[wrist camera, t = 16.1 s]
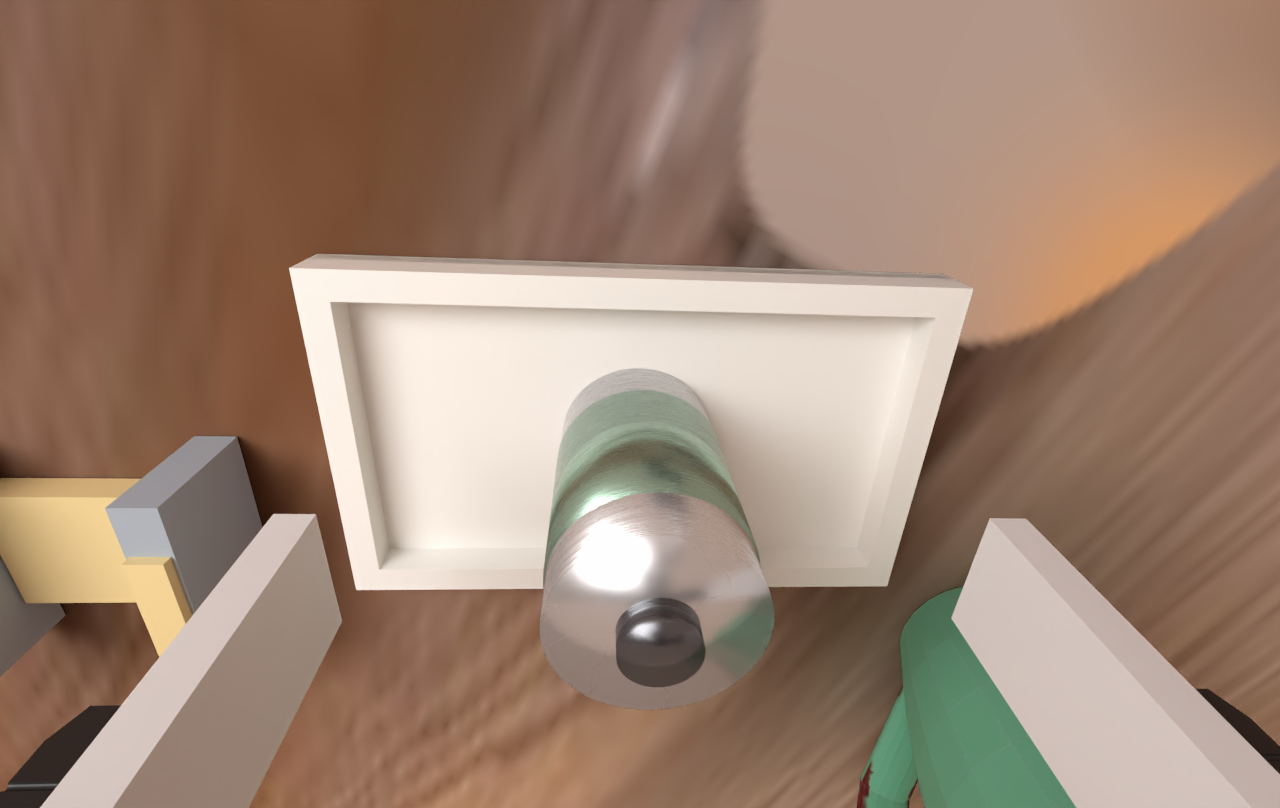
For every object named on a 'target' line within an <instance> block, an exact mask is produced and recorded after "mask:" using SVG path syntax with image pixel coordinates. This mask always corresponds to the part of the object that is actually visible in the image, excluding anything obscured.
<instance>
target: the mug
mask: <svg viewBox="0 0 1280 808" xmlns="http://www.w3.org/2000/svg"><path fill="white" fill-rule="evenodd" d="M962 589H963V586H962V587H958V588H955V589H951V590H948V591H944V592H943V593H941V594H939V595H937V596H935V597H933V598H931V599H929V600H928V601H927V602H925V603H924V604H923V605H922V606H921V607H919V608H918V609H917V610H916V611H914V613H913V614H912V615H911V617H910V618H909V620H908V621H907V622H906V624H905V625H904V627H903V631H902V634H901V637H900V651H901V664H902V676H903V686H902V689H901V691H900V693H899V695H898V697H897V699H896V702H895V704H894V706H893V708H892V710H891V713H890V715H889V717H888V719H887V721H886V724H885V726H884V728H883V730H882V732H881V735H880V737H879V739H878V741H877V743H876V746H875V748H874V750H873V752H872V754H871V756H870V759H869V761H868V763H867V765H866V767H865V770H864V772H863V774H862V776H861V778H860V786H859V794H858V802H857V808H909V799H910V797H911V795H912V793H913V790H914V788H915V786H916V784H917V781H918V785H919V789H920V793H921V797H922V800H923V804H924V808H1076V806H1075V805H1074V803H1073V802H1072V800H1071V799H1070V797H1069V796H1068V794H1067V793H1066V791H1065V790H1064V788H1063V787H1062V785H1061V784H1060V782H1059V781H1058V779H1057V778H1056V776H1055V775H1054V773H1053V772H1052V770H1051V769H1050V767H1049V766H1048V764H1047V763H1046V761H1045V760H1044V758H1043V756H1042V755H1041V753H1040V752H1039V750H1038V749H1037V747H1036V746H1035V744H1034V743H1033V741H1032V740H1031V738H1030V737H1029V735H1028V734H1027V732H1026V731H1025V729H1024V728H1023V726H1022V725H1021V723H1020V722H1019V720H1018V719H1017V717H1016V716H1015V714H1014V713H1013V711H1012V710H1011V708H1010V706H1009V705H1008V703H1007V702H1006V700H1005V699H1004V697H1003V696H1002V694H1001V693H1000V691H999V690H998V688H997V687H996V685H995V684H994V682H993V681H992V679H991V678H990V676H989V675H988V673H987V672H986V670H985V669H984V667H983V666H982V664H981V663H980V661H979V660H978V658H977V657H976V655H975V653H974V652H973V650H972V649H971V647H970V646H969V644H968V643H967V641H966V640H965V638H964V637H963V635H962V634H961V632H960V631H959V629H958V628H957V626H956V625H955V623H954V622H953V620H952V619H951V618H952V615H953V612H954V610H955V607H956V605H957V602H958V599H959V597H960V594H961V592H962Z"/></svg>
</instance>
